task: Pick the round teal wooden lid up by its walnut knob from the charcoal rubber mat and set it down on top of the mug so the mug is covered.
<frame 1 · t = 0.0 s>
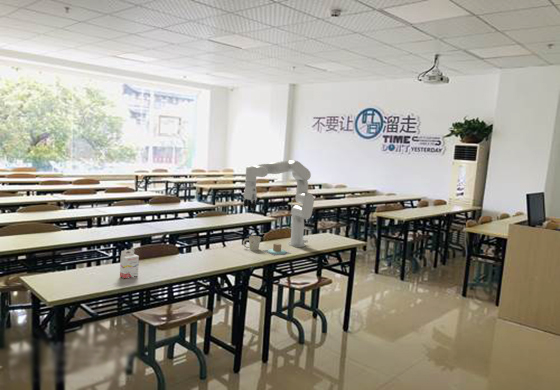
hand: (249, 207, 318), 31 cm above the table, tool pointing down, fingers open, 9 cm apart
mat: (276, 253, 318), on the table
lid: (276, 252, 318), point 1 cm above the table, touching mat
mug: (251, 250, 322), on the table
ink cartridge box: (129, 277, 246), on the table
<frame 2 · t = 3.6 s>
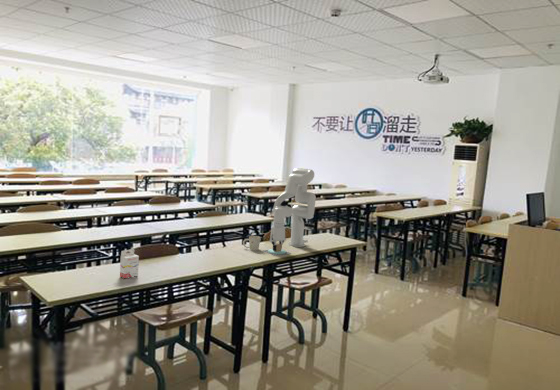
hand: (277, 249, 318), 3 cm above the table, tool pointing down, fingers closed on lid, 4 cm apart
lid: (276, 252, 318), point 1 cm above the table, touching gripper, mat
everything else where it was.
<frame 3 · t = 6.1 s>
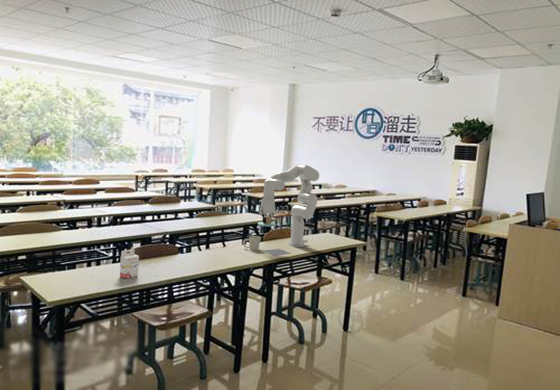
hand: (266, 222, 317), 22 cm above the table, tool pointing down, fingers closed on lid, 4 cm apart
lid: (266, 224, 318), point 20 cm above the table, touching gripper
everything else where it was.
when the fingers open (14 cm above the table, at t = 8.5 s): lid drops 2 cm, resting on mug.
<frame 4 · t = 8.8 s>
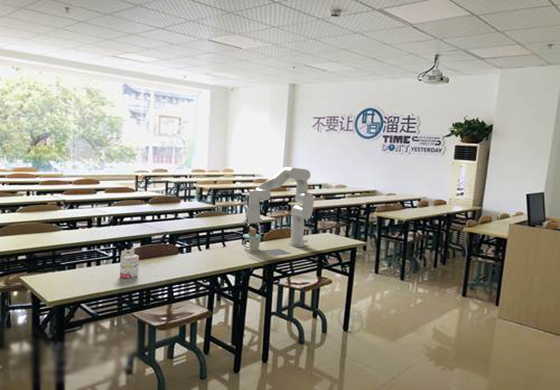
hand: (252, 231, 321), 14 cm above the table, tool pointing down, fingers open, 7 cm apart
lid: (252, 236, 321), point 10 cm above the table, touching mug
mug: (251, 250, 322), on the table, touching lid
everything else where it was.
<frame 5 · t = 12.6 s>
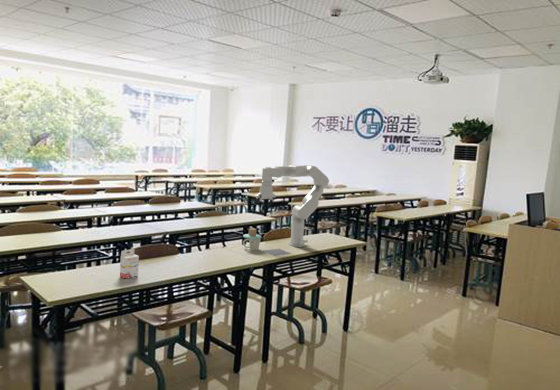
hand: (265, 206, 335), 30 cm above the table, tool pointing down, fingers open, 9 cm apart
nothing on the table moved.
at the end: lid point 10.0 cm above the table; lid 0.3 cm from the mug (horizontally); lid tilted 0° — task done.
